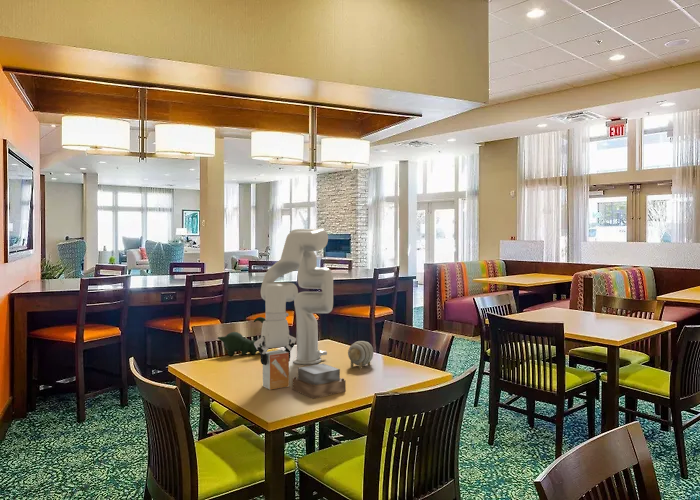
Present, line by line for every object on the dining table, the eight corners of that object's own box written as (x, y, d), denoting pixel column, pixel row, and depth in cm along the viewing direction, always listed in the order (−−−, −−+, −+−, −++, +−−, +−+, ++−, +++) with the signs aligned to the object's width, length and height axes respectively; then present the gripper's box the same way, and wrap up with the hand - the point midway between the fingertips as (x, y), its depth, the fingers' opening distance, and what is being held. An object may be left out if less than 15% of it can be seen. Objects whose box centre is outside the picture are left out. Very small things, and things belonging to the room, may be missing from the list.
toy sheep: (341, 369, 218) (341, 343, 217) (358, 360, 233) (358, 336, 232) (364, 372, 213) (363, 345, 213) (380, 363, 228) (380, 338, 228)
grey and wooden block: (324, 382, 198) (324, 362, 197) (345, 391, 186) (345, 369, 186) (292, 389, 189) (292, 367, 189) (313, 398, 178) (312, 375, 178)
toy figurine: (267, 354, 255) (215, 353, 248) (270, 316, 255) (218, 314, 248) (270, 358, 246) (216, 357, 239) (273, 318, 246) (219, 316, 239)
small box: (270, 390, 188) (269, 355, 188) (262, 386, 193) (262, 352, 193) (289, 386, 193) (289, 352, 193) (281, 382, 198) (281, 349, 198)
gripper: (290, 314, 200) (290, 358, 200) (250, 317, 190) (250, 363, 190) (300, 316, 194) (300, 361, 194) (259, 319, 184) (259, 367, 184)
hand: (275, 362), depth 192 cm, fingers open, 9 cm apart
